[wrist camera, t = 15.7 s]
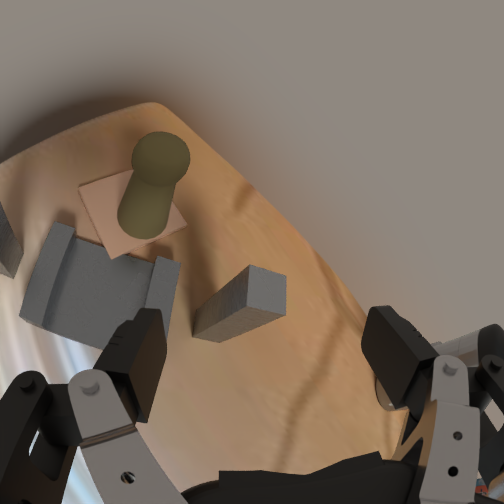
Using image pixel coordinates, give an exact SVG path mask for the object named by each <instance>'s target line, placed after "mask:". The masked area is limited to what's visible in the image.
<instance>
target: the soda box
mask: <svg viewBox="0 0 504 504" xmlns="http://www.w3.org/2000/svg"><path fill="white" fill-rule="evenodd" d="M475 492H476V493H479V494H481V495H484V496H485V495H486V494H487V493H488V490H487V487H486V485H485V483H484V481H483V479H482V478H481V479H477V481H476V488H475Z"/></svg>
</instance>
